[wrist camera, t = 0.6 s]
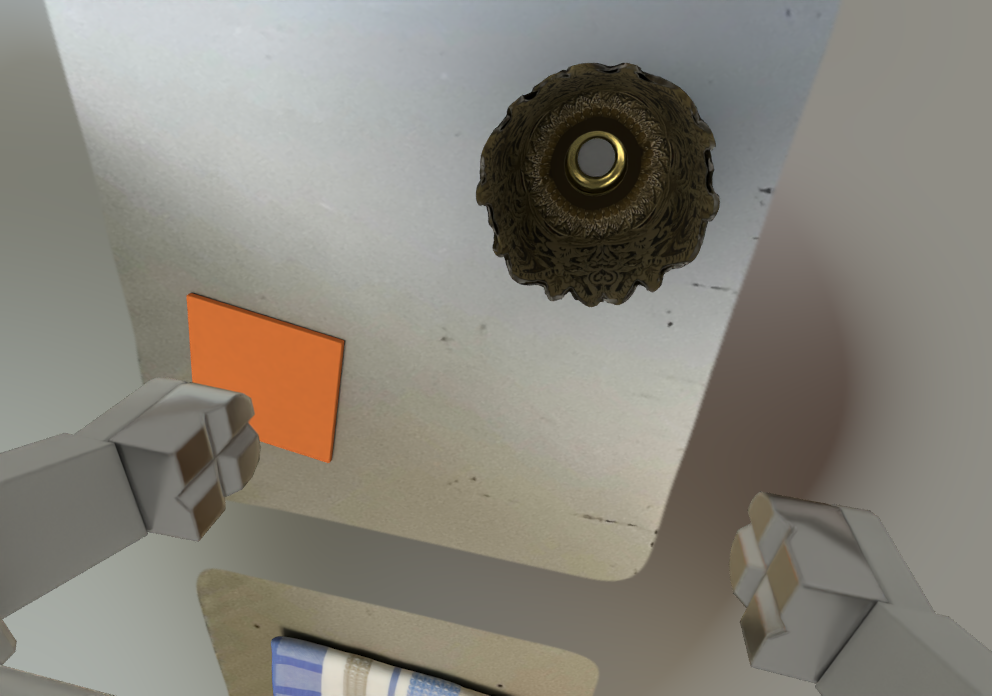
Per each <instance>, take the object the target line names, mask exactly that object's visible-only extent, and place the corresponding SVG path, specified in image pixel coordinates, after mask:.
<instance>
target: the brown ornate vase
mask: <svg viewBox="0 0 992 696" xmlns="http://www.w3.org/2000/svg"><path fill="white" fill-rule="evenodd" d="M595 138H600V139H604V140H606V141H608V142H609V143H610V144H611V145H612V147H613V149H614V151H615V162H614V165H613V167H612V168H611V170H610V171H609V172H608V173H607V174H605V175H603V176H601V177H590V176H587V175H586V174H584V173H583V172H582V171H581V170H580V168H579V165H578V161H577V157H578V153H579V150H580V148H581V147H582V145H583V144H584V143H586V142H587V141H589V140H591V139H595ZM714 147H716V143H715V139H714V137H713V133H712V131H711V130H710V128H709V126H708V125H707V124H706V123H705V122H704V121H703V120H702V119H701V118H700V116H699V114H698V111H697V108H696V106H695V104H694V102H693V101H692V100H691V98H690V97H689V96H688V95H687V94H686V93H685V92H684V91H683V90H682V89H681V88H680V87H678V86H677V85H675V84H673V83H672V82H670V81H668V80H665V79H663V78H661V77H658V76H654V75H651V74H648V73H646V72H643V71H642V70H641V68H640V67H638V66H637V65H634V64H630V63H621V64H618V65H615V66H606V65H603V64H599V63H583V64H578V65H574V66H571V67H569V68H568V69H567V71H566V70H562V71H560V72H558V73H556V74H553V75H550V76H548V77H547V78H546V79H544V80H543V81H542V82H541V83H539V84H538V85H536V86H534V87H533V90H532V92H530V93H529V94H526V95H522V96H521V97H519V98H518V99H517V100H516V101H515V102H513V103H512V104H511V105H510V106H509V107H508V110H507V115H506V117H505V118H504V119H503V121H502V122H501V123H500V125H499V126H498V127H497V128H495V129H494V131H493V132H492V133H491V135H490V137H489V138H488V140H487V142H486V144H485V146H484V148H483V151H482V154H481V160H480V182H479V183H478V185H477V189H476V200H477V203H478V205H479V206H481V205H484V206H486V207H487V211H488V222H489V225H490V226H491V227H492V229H493V231H494V244H493V251H494V253H495V254H496V255H497V256H498V257H504V258H505V261H506V265H507V268H508V271H509V275H510V276H511V278H512V279H513V280H514V281H516V282H517V283H519V284H522V285H539V286H542V287H544V289H545V294H546V295H547V297H548V299H549V300H550V301H556V300H559V299H562V298H563V297H564V295H565V294H567V293H568V292H571V294H572V296H573V297H574V299H575V300H579V301H580V302H582V303H583V304H584V305H586V306H588V307H594V306H597V305H598V304H599V303H600V302H604V300H605V301H606V302H607V303H612V304H614V305H620V304H622V303H624V302H626V301H627V300H628V299H629V298H630V297H631V295H632V294H633V293H634V291H635V289H636V287H637V286H638V285H641V286H644V287H645V288H646V290H648V291H650V292H654V291H656V290H657V289H658V288H659V287H660V286H661V284H662V280H663V276H664V274H665V273H666V272H668V271H670V270H671V269H675V268H681V267H683V266H685V265H687V264H689V263H690V262H692V261H693V260H694V259H695V258H696V256H697V255H698V253H699V251H700V248H701V246H702V244H703V240H704V236H705V231H706V227H707V224H708V221H712V220H713V219H714V218H715V216H716V214H717V212H718V210H719V205H720V200H719V195H718V194H716V193H715V191H714V189H713V186H712V176H713V172H714V166H713V163H712V159H711V152H710V150H711V151H712V150H713V148H714Z"/></svg>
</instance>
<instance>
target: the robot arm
mask: <svg viewBox="0 0 992 696" xmlns="http://www.w3.org/2000/svg"><path fill="white" fill-rule="evenodd" d="M254 415H255V412H254V408H253V403H252V399H251V398H250V397H249V396H247V395H245V394H244V393H240V392H235V391H231V390H226V389H221V388H217V387H212V386H207V385H203V384H198V383H194V382H186V381H182V380H177V379H172V378H168V377H159V378H153V379H151V380H149V381H148V382H147V383H145V384H144V385H142V386H141V387H140V388H138V389H137V390H135V391H134V392H133V393H131V394H130V395H128V396H127V397H126V398H124V399H123V400H121V401H120V402H119V403H117V404H116V405H115V406H113V407H112V408H110V409H109V410H107V411H106V412H105V413H104V414H102V415H100V416H99V417H98V418H96V419H95V420H93V421H92V422H91V423H89V424H88V425H86V426H85V427H84V428H82V429H81V430H80V431H78V432H77V433H75V434H74V435H73V434H68V433H62V434H59V435H56V436H53V437H50V438H47V439H44V440H40V441H37V442H34V443H31V444H28V445H24V446H22V447H18V448H15V449H12V450H9V451H5V452H3V453H0V696H114V695H111V694H107V693H103V692H100V691H96V690H92V689H89V688H85V687H81V686H77V685H74V684H70V683H66V682H62V681H59V680H54V679H51V678H47V677H44V676H40V675H36V674H32V673H29V672H25V671H21V670H17V669H14V668H10V667H6V666H3V664H4V663H5V662H6V661H7V660H8V658H10V656H12V655H13V653H14V652H15V650H16V642H17V641H16V640H15V638H14V637H13V635H12V634H11V632H10V630H9V629H8V627H7V626H6V624H5V623H4V621H3V620H2V619H3V618H5V617H7V616H8V615H10V614H12V613H14V612H16V611H17V610H19V609H21V608H22V607H24V606H26V605H28V604H29V603H31V602H33V601H34V600H36V599H38V598H40V597H41V596H43V595H45V594H46V593H48V592H50V591H52V590H53V589H55V588H57V587H58V586H60V585H62V584H64V583H66V582H67V581H69V580H71V579H72V578H74V577H76V576H78V575H79V574H81V573H83V572H84V571H86V570H88V569H90V568H91V567H93V566H95V565H97V564H98V563H100V562H102V561H103V560H105V559H107V558H109V557H110V556H112V555H114V554H116V553H117V552H119V551H121V550H122V549H124V548H126V547H127V546H129V545H131V544H133V543H135V542H136V541H138V540H140V539H141V538H143V537H145V536H147V534H148V533H147V532H151V533H156V534H161V535H167V536H172V537H177V538H182V539H187V540H192V541H197V542H199V541H200V539H201V538H202V537H203V536H204V535H205V533H206V532H207V531H208V530H209V529H210V527H211V526H212V525H213V524H214V523H215V522H216V520H217V519H218V518H219V517H220V516H221V514H222V513H223V512H224V511H225V509H226V507H225V497H227V496H229V495H231V494H233V493H235V492H238V491H240V490H242V489H243V488H244V487H245V485H246V484H247V483H248V481H249V480H250V479H251V478H252V476H253V474H254V472H255V469H256V467H257V465H258V462H259V460H260V449H261V445H260V439H259V435H258V433H257V432H256V431H255V430H254V429H253V428H252V426H251V425H250V424H249V421H250V420H251V419H252V417H253V416H254ZM748 512H749V516H750V520H751V524H749V525H747V526H745V527H743V528H741V529H739V530H738V531H737V534H736V536H735V538H734V541H733V543H732V546H731V552H730V560H729V571H730V581H731V585H732V590H733V594H734V595H735V596H736V597H737V598H738V599H739V600H740V601H741V603H742V604H743V605H744V606H745V607H746V608H747V609H746V611H745V613H744V615H743V616H742V618H741V620H740V624H741V628H742V632H743V637H744V641H745V645H746V649H747V653H748V657H749V661H750V665H751V667H753V668H757V669H761V670H765V671H769V672H773V673H776V674H780V675H784V676H788V677H792V678H796V679H800V680H804V681H808V682H812V683H816V685H815V687H816V689H817V690H818V691H819V693H820V694H821V696H992V651H990V650H989V649H988V648H987V647H986V646H984V645H983V644H982V643H980V642H979V641H978V640H977V639H976V638H975V637H973V636H972V635H971V634H970V633H968V632H967V631H966V630H965V629H964V628H962V627H961V626H960V625H959V624H957V623H956V622H955V621H954V620H952V619H951V618H950V617H949V616H944V615H940V614H936V613H935V611H934V610H933V608H932V606H931V605H930V603H929V601H928V599H927V598H926V596H925V594H924V593H923V591H922V589H921V588H920V586H919V584H918V583H917V581H916V580H915V578H914V576H913V574H912V572H911V571H910V569H909V567H908V566H907V564H906V562H905V561H904V559H903V557H902V556H901V554H900V552H899V551H898V549H897V547H896V545H895V544H894V542H893V540H892V539H891V537H890V535H889V534H888V532H887V530H886V528H885V527H884V525H883V524H882V522H881V520H880V518H879V517H878V516H876V515H875V514H874V513H873V512H871V511H870V510H864V509H858V508H852V507H846V506H840V505H835V504H832V505H829V504H825V503H820V502H814V501H809V500H803V499H798V498H793V497H787V496H782V495H776V494H771V493H765V492H759V493H758V494H757V495H756V496H755V497H754V498H753V500H752V502H751V504H750V506H749V508H748Z"/></svg>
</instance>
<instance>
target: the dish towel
mask: <svg viewBox="0 0 992 696" xmlns="http://www.w3.org/2000/svg"><path fill="white" fill-rule="evenodd" d="M271 647H272V684H273V695H274V696H489V695H486V694H483V693H480V692H477V691H473V690H470V689H467V688H464V687H462V686H460V685H458V684H455V683H452V682H450V681H446V680H443V679H440V678H436V677H432V676H428V675H425V674H422V673H418V672H414V671H410V670H406V669H402V668H399V667H395V666H391V665H388V664H385V663H382V662H378V661H375V660H373V659H370V658H366V657H363V656H360V655H356V654H352V653H347V652H343V651H340V650H336V649H332V648H330V647H327V646H323V645H319V644H315V643H312V642H308V641H304V640H300V639H295V638H290V637H283V636H278V637H275V638H273V639H272V641H271Z"/></svg>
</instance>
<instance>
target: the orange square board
mask: <svg viewBox="0 0 992 696" xmlns="http://www.w3.org/2000/svg"><path fill="white" fill-rule="evenodd" d="M187 308H188V323H189V337H190V351H191V366H192V380H193V382H194V383H198V384H203V385H207V386H212V387H217V388H221V389H226V390H231V391H235V392H240V393H244V394H245V395H247V396H249V397H250V398H251V399H252V403H253V408H254V412H255V415H254V416H253V417H252V419H251V420H250V421H249V424H250V425H251V426H252V428H253V429H254V430H255V431H256V432H257V433H258V435H259V439H260V441H261V442H264V443H267V444H271V445H274V446H277V447H280V448H283V449H286V450H289V451H292V452H296V453H299V454H302V455H305V456H308V457H311V458H314V459H317V460H320V461H324V462H327V463H330V461H331V460H332V451H333V442H334V433H335V424H336V414H337V405H338V396H339V387H340V377H341V368H342V359H343V350H344V340H341V339H338V338H334V337H331V336H328V335H325V334H322V333H318V332H315V331H312V330H309V329H306V328H302V327H299V326H296V325H293V324H289V323H286V322H283V321H280V320H277V319H273V318H270V317H267V316H264V315H260V314H257V313H254V312H251V311H248V310H244V309H241V308H238V307H235V306H232V305H228V304H225V303H222V302H219V301H215V300H212V299H209V298H206V297H203V296H199V295H196V294H193V293H190V294H188V295H187Z"/></svg>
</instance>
